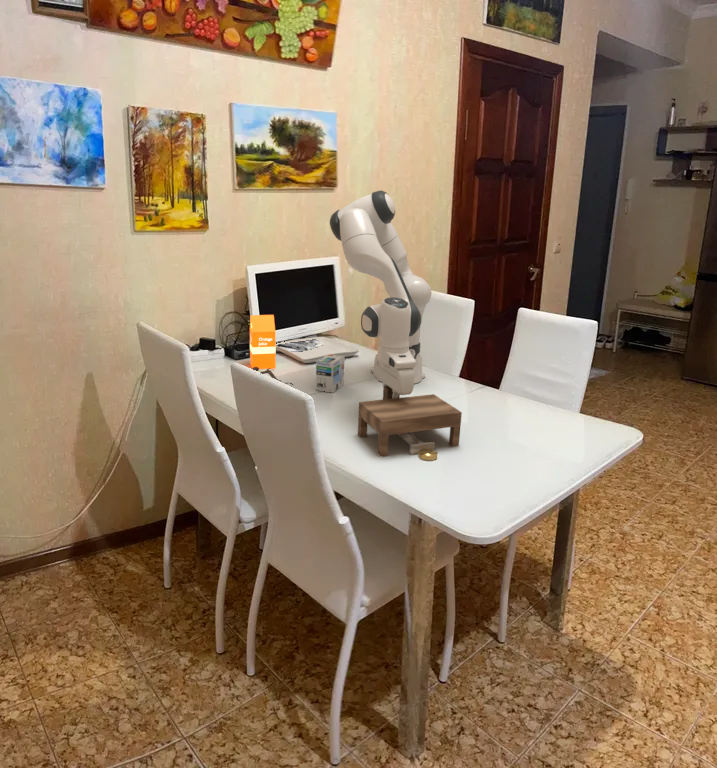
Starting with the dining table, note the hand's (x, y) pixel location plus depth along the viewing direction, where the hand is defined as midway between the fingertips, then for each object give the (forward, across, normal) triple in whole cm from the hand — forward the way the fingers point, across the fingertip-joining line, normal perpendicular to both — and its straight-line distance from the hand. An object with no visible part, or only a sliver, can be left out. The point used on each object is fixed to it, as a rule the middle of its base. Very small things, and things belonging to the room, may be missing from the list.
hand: (391, 399), depth 189 cm
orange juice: (+8, -71, -21) cm, 74 cm away
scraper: (+8, +9, 0) cm, 12 cm away
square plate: (+9, -83, +4) cm, 83 cm away
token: (+8, +24, 0) cm, 25 cm away
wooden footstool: (+8, +12, 0) cm, 15 cm away
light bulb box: (+8, -39, -5) cm, 40 cm away
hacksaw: (+9, -56, -21) cm, 61 cm away
